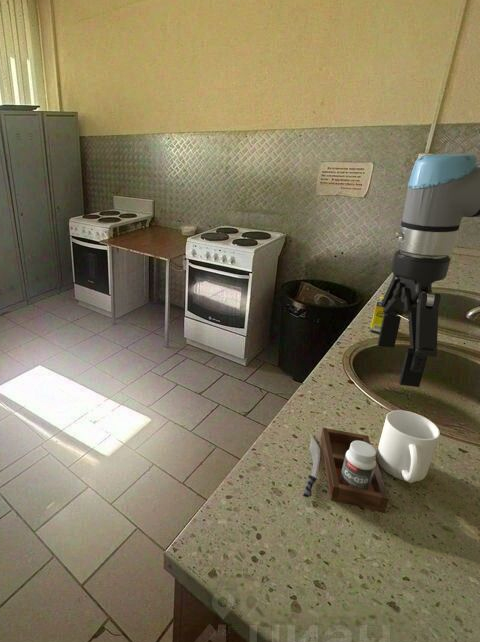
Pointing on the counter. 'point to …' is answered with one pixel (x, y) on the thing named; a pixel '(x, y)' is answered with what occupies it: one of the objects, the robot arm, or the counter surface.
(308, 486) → the knife
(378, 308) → the supplement box
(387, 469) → the mug
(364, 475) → the pill bottle
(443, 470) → the counter surface
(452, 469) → the counter surface
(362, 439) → the wooden divided tray
